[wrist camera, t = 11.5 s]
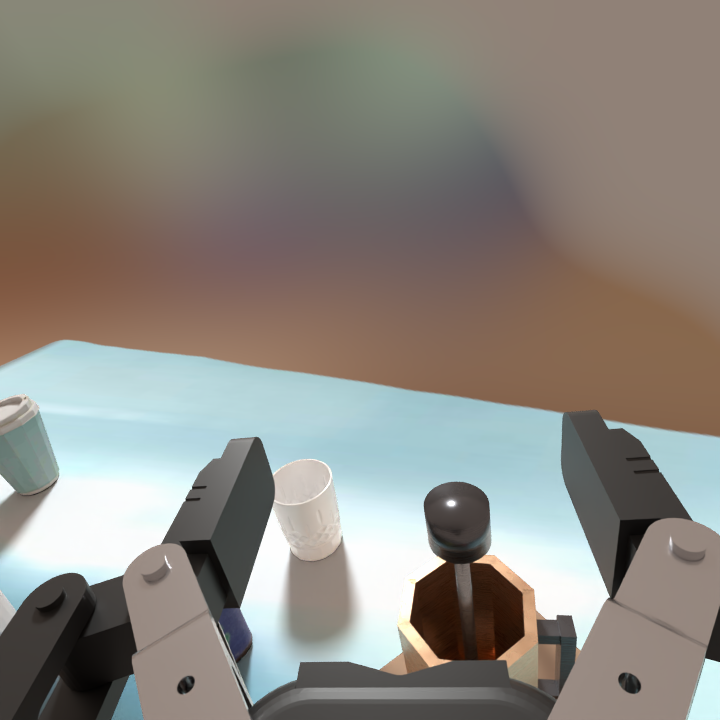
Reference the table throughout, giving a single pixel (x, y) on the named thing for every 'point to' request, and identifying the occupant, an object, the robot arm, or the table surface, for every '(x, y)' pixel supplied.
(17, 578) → the table surface
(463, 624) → the plunger
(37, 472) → the disposable coffee cup
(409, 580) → the press beaker
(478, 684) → the robot arm
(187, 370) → the table surface
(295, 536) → the white cup
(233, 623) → the grey and blue model
